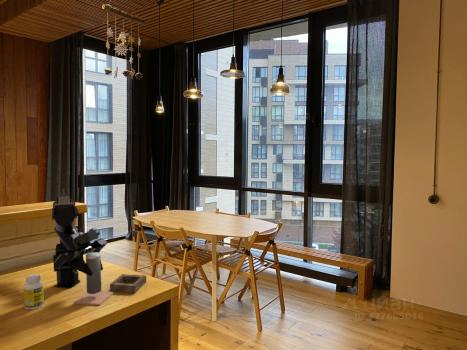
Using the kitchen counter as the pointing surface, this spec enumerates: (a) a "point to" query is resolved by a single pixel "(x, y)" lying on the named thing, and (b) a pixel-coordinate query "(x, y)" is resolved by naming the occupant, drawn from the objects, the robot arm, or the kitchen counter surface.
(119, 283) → the walnut collar
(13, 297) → the kitchen counter surface
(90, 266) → the grey cylinder
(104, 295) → the terracotta tile
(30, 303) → the supplement bottle
